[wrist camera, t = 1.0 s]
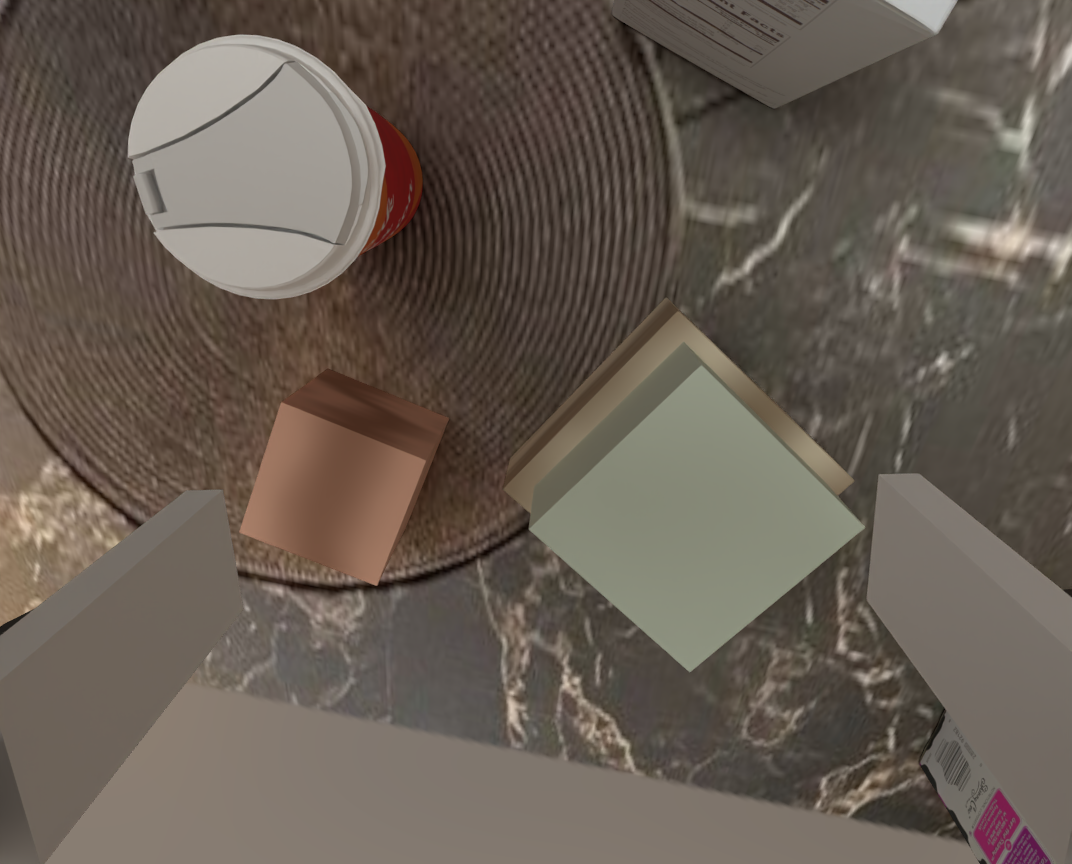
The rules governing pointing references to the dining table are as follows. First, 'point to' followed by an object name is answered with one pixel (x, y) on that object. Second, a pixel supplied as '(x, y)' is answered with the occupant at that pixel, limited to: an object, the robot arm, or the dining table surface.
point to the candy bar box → (978, 800)
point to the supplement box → (784, 37)
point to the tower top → (688, 510)
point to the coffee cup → (267, 167)
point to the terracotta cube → (342, 474)
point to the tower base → (624, 375)
